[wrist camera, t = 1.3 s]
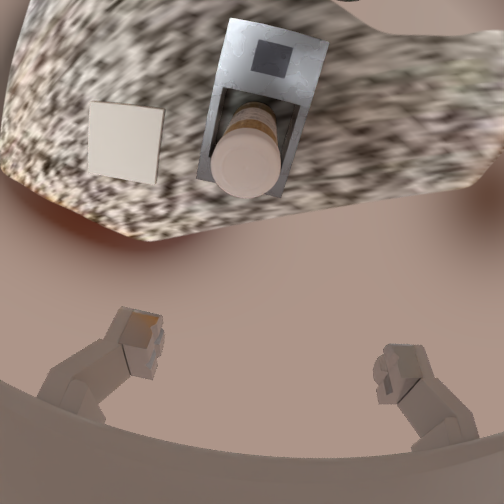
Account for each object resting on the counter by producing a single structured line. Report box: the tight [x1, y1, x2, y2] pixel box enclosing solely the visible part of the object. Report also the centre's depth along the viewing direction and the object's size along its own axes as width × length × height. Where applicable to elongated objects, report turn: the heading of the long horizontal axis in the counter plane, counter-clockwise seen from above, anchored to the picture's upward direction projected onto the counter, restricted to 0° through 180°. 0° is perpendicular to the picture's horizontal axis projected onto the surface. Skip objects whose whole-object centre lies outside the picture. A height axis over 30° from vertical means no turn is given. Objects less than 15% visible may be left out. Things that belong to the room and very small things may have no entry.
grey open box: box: [196, 18, 330, 198], centre depth 27 cm, size 16×9×4 cm, turn 167°
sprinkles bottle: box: [211, 102, 281, 198], centre depth 25 cm, size 5×5×14 cm
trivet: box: [88, 101, 165, 185], centre depth 31 cm, size 9×9×1 cm
